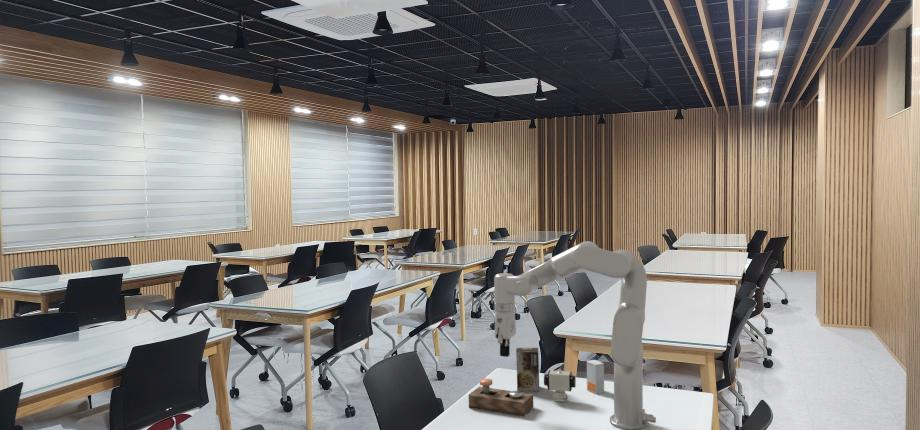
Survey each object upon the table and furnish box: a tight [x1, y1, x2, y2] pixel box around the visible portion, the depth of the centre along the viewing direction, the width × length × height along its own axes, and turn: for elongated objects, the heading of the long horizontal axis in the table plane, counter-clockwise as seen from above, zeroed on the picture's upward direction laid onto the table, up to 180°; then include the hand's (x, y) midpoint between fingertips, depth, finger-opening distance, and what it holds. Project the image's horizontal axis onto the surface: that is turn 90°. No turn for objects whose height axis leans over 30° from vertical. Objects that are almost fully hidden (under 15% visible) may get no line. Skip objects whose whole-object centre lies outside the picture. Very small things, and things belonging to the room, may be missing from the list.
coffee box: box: [515, 347, 540, 392], centre depth 246 cm, size 9×6×16 cm
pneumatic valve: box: [543, 369, 577, 403], centre depth 232 cm, size 6×12×12 cm, turn 74°
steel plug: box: [509, 390, 523, 399], centre depth 223 cm, size 5×5×5 cm
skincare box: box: [586, 359, 605, 395], centre depth 241 cm, size 6×4×12 cm
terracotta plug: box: [479, 378, 493, 395], centre depth 228 cm, size 5×5×5 cm
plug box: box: [468, 386, 534, 418], centre depth 226 cm, size 22×10×5 cm, turn 64°
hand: (504, 355), depth 224 cm, fingers closed
